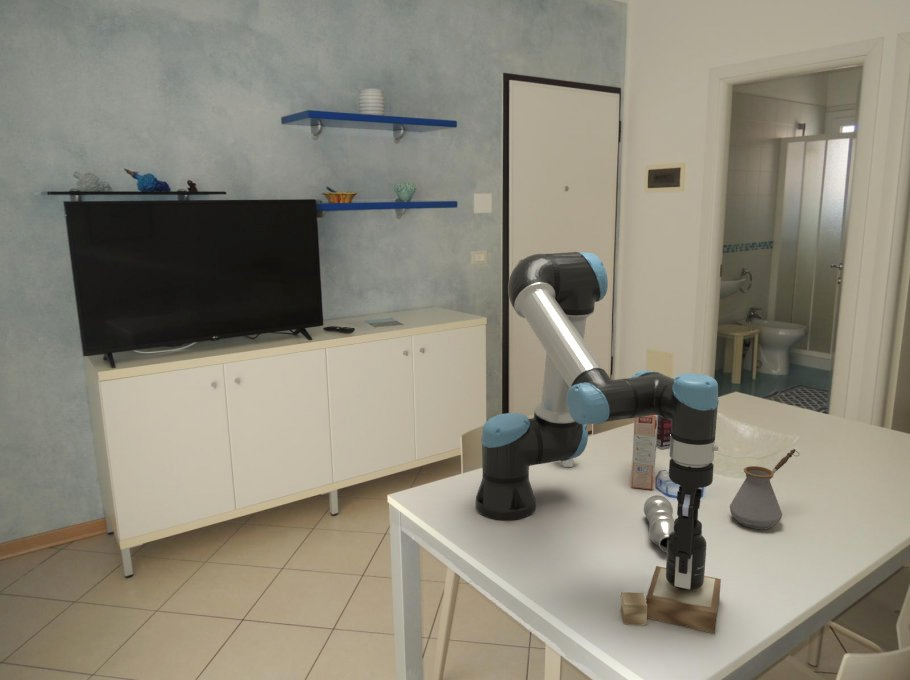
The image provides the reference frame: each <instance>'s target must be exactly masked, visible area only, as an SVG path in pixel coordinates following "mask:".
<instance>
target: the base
mask: <svg viewBox="0 0 910 680" xmlns="http://www.w3.org/2000/svg"><path fill="white" fill-rule="evenodd" d="M651 578H652V579H651V581H650V584H649V588H648V590H647V591H648V592H647V594H646V596H645V597H646V598H645V600H646V603H647V618H648V619H651V620H654V621H655V620H656V621H660V622H663V623H667V624H673V625H676V626H681V627H685V628H688V629H689V628H690V629H694V630H697V631H702V632H706V633H710V634H716V627H717V621H718V614H719V613H718V612H719V606H720V605H719V604H720V595H721V582H722V579H721V578H717V577H711V576H707V575H704V583H703V585H702V587H700V588H699V589H696V590H683V589H679V588H676V587H674V586H672V585H671V584H670V583H669V582H668V581H667V579H666V567H663V566H659V565H656V566H655V569H654V572H653V575H652V577H651Z"/></svg>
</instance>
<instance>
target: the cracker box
mask: <svg viewBox="0 0 910 680" xmlns="http://www.w3.org/2000/svg"><path fill="white" fill-rule="evenodd" d="M633 419H634V422H633V438H632V439H633V441H632V444H633V445H632V459H631V460H632V461H631V479H630V480H631V481H630V484H631V485H630V487H631V488H634V489H640V490H641V489H643V490H649V491H650V490H653V485H654V480H655V479H654V478H655V471H656V470H655V469H656V459H657V457H656V456H657V447H656V444H657V427H658V415H651V416H644V417H637V418H633Z"/></svg>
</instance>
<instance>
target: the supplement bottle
mask: <svg viewBox="0 0 910 680" xmlns="http://www.w3.org/2000/svg"><path fill="white" fill-rule="evenodd" d="M677 523H678V517H676V518H675V519H674V531H673V532H671V533H670V534H669V536H668V543H667V552H666V562H665V563H666V564H665V568H666V579H667V581H668V582H669V583H670V584H671V585H672V586H674V584H675V566H676V556H675V555H674V554H672V551H673V550H674V551H676V539H677ZM702 529H703V524H702V522H701V521H700V520H699V519H698V520H697V519H694V528H693V540H692V551H691V552H692V570H691V586H690V589H686V588H681V587H676V586H674V587H676V588H679V589H683V590H696V589H699V588H700V587H702V585H703V583H704V576H705V570H706V560H707V559H706V556H707V539H705V537H704V536H703V530H702Z"/></svg>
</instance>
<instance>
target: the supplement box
mask: <svg viewBox="0 0 910 680" xmlns="http://www.w3.org/2000/svg"><path fill="white" fill-rule="evenodd" d="M670 434H671V421H669V420H667V419H665V418H663V417H660V416H658V427H657V444H656V449H659V450H665V449H670Z"/></svg>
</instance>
